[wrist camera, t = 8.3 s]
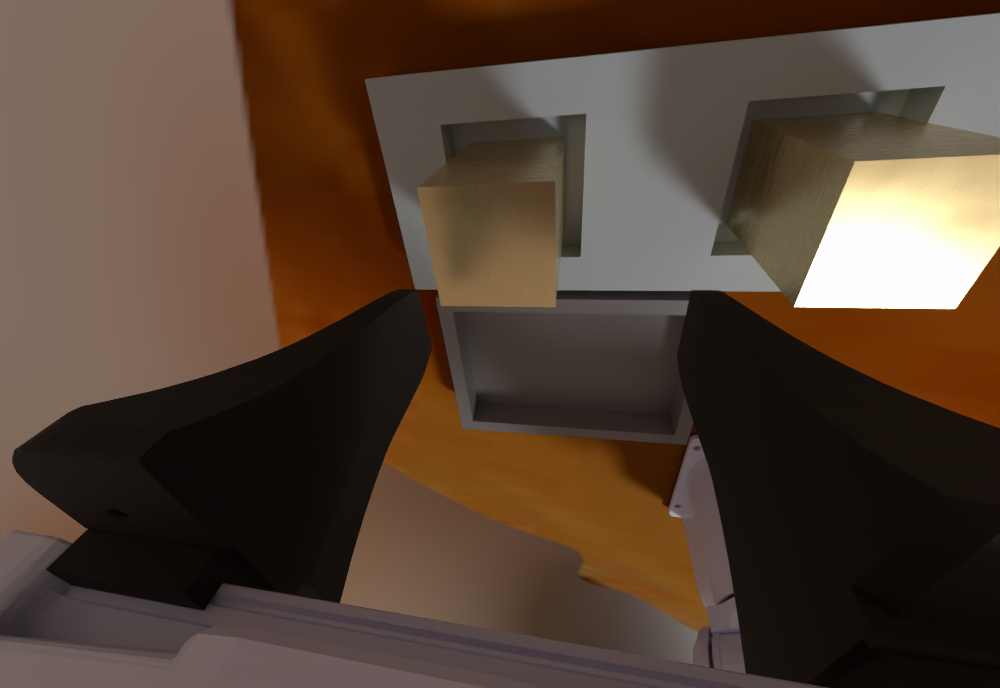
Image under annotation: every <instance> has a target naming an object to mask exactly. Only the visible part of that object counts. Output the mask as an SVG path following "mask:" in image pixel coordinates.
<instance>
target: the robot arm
mask: <svg viewBox="0 0 1000 688" xmlns="http://www.w3.org/2000/svg"><path fill="white" fill-rule="evenodd" d="M431 350H432V345H431V341H430V337H429V333H428V328H427V324H426V320H425V316H424V312H423V307H422V303H421V299H420V295H419V291H418V289H398V290H396V291H393V292H391V293H389V294H386V295H384V296H383V297H381V298H379V299H377V300H375V301H373V302H371V303H370V304H368V305H366V306H364V307H362V308H361V309H359V310H357V311H355V312H354V313H352V314H350V315H348V316H346V317H345V318H343V319H341V320H339V321H337V322H335V323H333V324H332V325H330V326H328V327H326V328H324V329H322V330H320V331H318V332H316V333H314V334H312V335H310V336H308V337H306V338H304V339H302V340H300V341H298V342H296V343H294V344H291V345H289V346H287V347H285V348H282V349H280V350H277V351H275V352H273V353H270V354H268V355H266V356H263V357H261V358H258V359H255V360H252V361H249V362H246V363H244V364H241V365H238V366H235V367H232V368H229V369H227V370H224V371H221V372H218V373H215V374H212V375H208V376H205V377H202V378H199V379H195V380H192V381H188V382H184V383H181V384H177V385H173V386H170V387H166V388H162V389H159V390H154V391H151V392H146V393H141V394H137V395H133V396H128V397H123V398H119V399H114V400H110V401H105V402H101V403H96V404H91V405H86V406H82V407H79V408H77V409H75V410H73V411H71V412H69V413H67V414H66V415H64V416H63V417H61V418H60V419H58V420H57V421H55V422H54V423H53V424H51V425H50V426H48V427H47V428H45V429H44V430H42V431H41V432H40V433H38V434H37V435H35V436H34V437H33V438H31V439H30V440H28V441H27V442H25V443H24V444H22V445H21V446H20V447H18V448H17V449H15V450H14V454H13V458H12V459H13V460H12V463H13V465H14V468H15V470H16V472H17V473H18V474H19V475H20V476H21V477H22V479H23V480H24V481H25V482H26V483H27V484H29V485H30V486H31V487H32V488H33V489H35V490H36V491H37V492H38V493H39V494H41V495H42V496H43V497H45V498H46V499H47V500H49V501H50V502H52V503H53V504H54V505H56V506H57V507H58V508H60V509H61V510H62V511H64V512H65V513H66V514H68V515H69V516H70V517H72V518H73V519H74V520H76V521H77V522H78V523H80V524H81V525H83V526H84V527H85V528H87V529H88V530H87V531H85V533H83V534H82V535H81V536H80V537H79V538H78V539H77V540H76V541H75V542H74V543H73V544H72V543H70V542H68V541H65V540H63V539H61V538H57V537H53V536H47V535H41V534H35V533H29V532H23V531H17V530H16V531H11V532H7V533H6V534H4V535H3V536H2V537H1V538H0V688H1000V428H997V427H994V426H991V425H989V424H986V423H983V422H980V421H977V420H975V419H972V418H969V417H966V416H964V415H961V414H958V413H955V412H953V411H950V410H948V409H945V408H943V407H940V406H938V405H935V404H933V403H930V402H927V401H925V400H922V399H920V398H917V397H915V396H912V395H910V394H907V393H905V392H903V391H900V390H898V389H896V388H893V387H891V386H889V385H886V384H884V383H882V382H880V381H878V380H875V379H873V378H871V377H869V376H867V375H865V374H863V373H861V372H858V371H856V370H854V369H852V368H850V367H848V366H846V365H844V364H842V363H840V362H838V361H836V360H834V359H832V358H830V357H828V356H826V355H825V354H823V353H821V352H819V351H818V350H816V349H814V348H812V347H810V346H809V345H807V344H805V343H803V342H801V341H800V340H798V339H796V338H795V337H793V336H791V335H790V334H788V333H786V332H785V331H783V330H781V329H780V328H778V327H777V326H775V325H773V324H772V323H770V322H769V321H767V320H766V319H764V318H762V317H761V316H759V315H758V314H756V313H755V312H753V311H752V310H750V309H749V308H747V307H746V306H744V305H742V304H741V303H739V302H738V301H736V300H735V299H733V298H731V297H730V296H728V295H726V294H725V293H723V292H721V291H719V290H691V294H690V298H689V303H688V307H687V312H686V316H685V321H684V325H683V330H682V334H681V339H680V343H679V348H678V352H677V361H678V367H679V373H680V379H681V384H682V389H683V392H684V395H685V398H686V401H687V404H688V407H689V410H690V413H691V416H692V419H693V422H694V425H695V428H696V431H697V435H693V436H692V437H690V439H689V442H688V446H687V449H686V452H685V455H684V459H683V462H682V465H681V469H680V472H679V475H678V478H677V482H676V485H675V488H674V491H673V495H672V498H671V501H670V504H669V508H668V511H669V514H670V515H671V516H674V517H682V518H683V523H684V527H685V532H686V537H687V541H688V546H689V551H690V555H691V560H692V565H693V569H694V574H695V579H696V583H697V588H698V591H699V595H700V598H701V600H702V602H703V604H704V606H705V608H706V610H707V614H708V619H709V623H710V626H708V627H703V628H701V629H700V631H699V633H698V636H697V640H696V642H695V644H694V648H693V664H688V663H682V662H676V661H671V660H664V659H658V658H653V657H648V656H642V655H636V654H629V653H624V652H618V651H613V650H606V649H601V648H595V647H590V646H584V645H578V644H572V643H566V642H561V641H555V640H549V639H543V638H537V637H531V636H526V635H520V634H514V633H508V632H503V631H497V630H491V629H485V628H480V627H474V626H467V625H462V624H457V623H450V622H444V621H439V620H433V619H427V618H422V617H416V616H410V615H404V614H398V613H393V612H387V611H381V610H376V609H370V608H364V607H358V606H352V605H347V604H341V603H340V600H341V597H342V593H343V589H344V585H345V581H346V577H347V574H348V570H349V565H350V562H351V558H352V555H353V551H354V548H355V545H356V541H357V538H358V534H359V531H360V528H361V524H362V521H363V517H364V514H365V512H366V508H367V505H368V502H369V499H370V496H371V493H372V490H373V487H374V484H375V482H376V479H377V476H378V473H379V470H380V468H381V465H382V462H383V460H384V457H385V454H386V452H387V449H388V447H389V445H390V443H391V440H392V438H393V436H394V434H395V432H396V430H397V428H398V426H399V424H400V422H401V420H402V418H403V416H404V414H405V412H406V410H407V408H408V406H409V404H410V402H411V400H412V398H413V396H414V394H415V392H416V390H417V388H418V386H419V384H420V382H421V380H422V377H423V375H424V372H425V369H426V366H427V363H428V360H429V356H430V353H431Z"/></svg>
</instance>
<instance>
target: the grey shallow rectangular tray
mask: <svg viewBox="0 0 1000 688" xmlns="http://www.w3.org/2000/svg"><path fill="white" fill-rule="evenodd" d="M721 292H723V293H725V291H721ZM690 294H691V291H594V290H557V299H556V307H493V306H441V304H440V299H439V294H438V295H437V296H436V298H435V299H436V303H437V308H438V313H439V318H440V322H441V327H442V332H443V337H444V342H445V346H446V351H447V356H448V361H449V365H450V370H451V375H452V380H453V384H454V389H455V394H456V399H457V404H458V408H459V413H460V418H461V423H462V427H463V429H475V430H489V431H502V432H516V433H530V434H543V435H557V436H570V437H584V438H598V439H611V440H625V441H638V442H652V443H665V444H679V445H687V442H688V439H689V435H690V432H691V429H692V426H693V419H692V416H691V413H690V410H689V407H688V404H687V401H686V398H685V395H684V392H683V389H682V384H681V379H680V373H679V367H678V361H677V352H678V348H679V343H680V339H681V334H682V330H683V325H684V321H685V316H686V312H687V307H688V303H689V298H690ZM725 294H726V293H725Z"/></svg>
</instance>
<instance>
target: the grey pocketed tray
mask: <svg viewBox="0 0 1000 688" xmlns="http://www.w3.org/2000/svg"><path fill="white" fill-rule="evenodd" d="M364 80H365V84H366V88H367V92H368V96H369V100H370V104H371V109H372V113H373V117H374V121H375V125H376V129H377V133H378V138H379V142H380V146H381V150H382V154H383V158H384V162H385V167H386V171H387V175H388V179H389V183H390V187H391V191H392V196H393V200H394V204H395V208H396V212H397V216H398V220H399V225H400V229H401V233H402V237H403V241H404V245H405V250H406V254H407V258H408V262H409V266H410V270H411V274H412V279H413V283H414V287H415V289H418V290H438V289H437V284H436V279H435V274H434V269H433V265H432V260H431V255H430V250H429V245H428V240H427V235H426V230H425V225H424V220H423V215H422V210H421V205H420V201H419V196H418V191H417V187H418V186H419V185H420V184H421V183H423V182H424V181H425V180H426V179H428V178H429V177H430V176H431V175H432V174H434V173H435V172H436V171H437V170H438V169H440V168H441V167H442V166H443V165H445V164H446V163H447V162H448V161H449V160H451V159H452V158H453V157H454V156H455V155H457V154H458V153H459V152H460V151H461V150H463V149H464V148H465V147H466V146H468V145H469V144H470V143H473V142H488V141H503V140H518V139H533V138H548V137H563V136H565V148H564V231H563V241H562V251H561V260H560V270H559V280H558V289H557V290H594V291H691V290H719V291H780V289H779V288H778V287H777V286H776V285H775V283H774V282H773V281H772V280H771V278H770V277H769V276H768V275H767V274H766V272H765V271H764V270H763V269H762V268H761V266H760V265H759V264H758V263H757V262H756V260H755V259H754V258H753V257H752V256H751V254H750V253H749V252H748V251H747V249H746V248H745V247H744V246H743V245H742V243H741V242H740V241H739V240H738V239H737V237H736V236H735V235H734V234H733V233H732V231H731V230H730V229H729V228H728V227H727V225H726V221H727V217H728V213H729V209H730V205H731V201H732V198H733V194H734V190H735V186H736V182H737V178H738V175H739V171H740V167H741V163H742V159H743V155H744V152H745V148H746V144H747V140H748V136H749V132H750V128H751V125H752V121H753V120H761V119H776V118H790V117H805V116H819V115H834V114H849V113H863V112H879V113H884V114H889V115H894V116H899V117H903V118H908V119H913V120H918V121H923V122H928V123H932V124H937V125H942V126H947V127H952V128H957V129H961V130H966V131H971V132H976V133H981V134H986V135H990V136H995V137H1000V13H990V14H980V15H971V16H961V17H951V18H942V19H932V20H923V21H913V22H903V23H894V24H884V25H875V26H865V27H855V28H846V29H836V30H826V31H817V32H807V33H798V34H788V35H778V36H769V37H759V38H749V39H740V40H730V41H721V42H711V43H701V44H692V45H682V46H672V47H663V48H653V49H644V50H634V51H624V52H615V53H605V54H595V55H586V56H576V57H567V58H557V59H547V60H538V61H528V62H518V63H509V64H499V65H490V66H480V67H470V68H461V69H451V70H441V71H432V72H422V73H413V74H403V75H393V76H385V77H377V78H370V79H364Z"/></svg>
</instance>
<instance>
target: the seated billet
mask: <svg viewBox="0 0 1000 688" xmlns="http://www.w3.org/2000/svg"><path fill="white" fill-rule="evenodd" d="M726 225H727V227H728V228H729V229H730V230H731V231H732V233H733V234H734V235H735V236H736V237H737V239H738V240H739V241H740V242H741V243H742V245H743V246H744V247H745V248H746V249H747V251H748V252H749V253H750V254H751V256H752V257H753V258H754V259H755V260H756V262H757V263H758V264H759V265H760V266H761V268H762V269H763V270H764V271H765V272H766V274H767V275H768V276H769V277H770V278H771V280H772V281H773V282H774V283H775V285H776V286H777V287H778V288H779V289H780V291H781V292H782V293H783V294H784V295H785V297H786V298H787V299H788V300H789V301H790V303H791V304H792V305H793V306H794V307H847V308H932V309H955V308H956V307H957V306H958V304H959V303H960V301H961V300H962V299H963V297H964V296H965V294H966V293H967V291H968V290H969V289H970V287H971V286H972V284H973V283H974V282H975V280H976V279H977V277H978V276H979V274H980V273H981V272H982V270H983V269H984V267H985V266H986V265H987V263H988V262H989V260H990V259H991V257H992V256H993V255H994V253H995V252H996V250H997V249H998V247H999V246H1000V137H995V136H990V135H986V134H981V133H976V132H971V131H966V130H961V129H957V128H952V127H947V126H942V125H937V124H932V123H928V122H923V121H918V120H913V119H908V118H903V117H899V116H894V115H889V114H884V113H879V112H863V113H849V114H834V115H819V116H805V117H790V118H776V119H761V120H753V121H752V125H751V128H750V132H749V136H748V140H747V144H746V148H745V152H744V155H743V159H742V163H741V167H740V171H739V175H738V178H737V182H736V186H735V190H734V194H733V198H732V201H731V205H730V209H729V213H728V217H727V221H726Z"/></svg>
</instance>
